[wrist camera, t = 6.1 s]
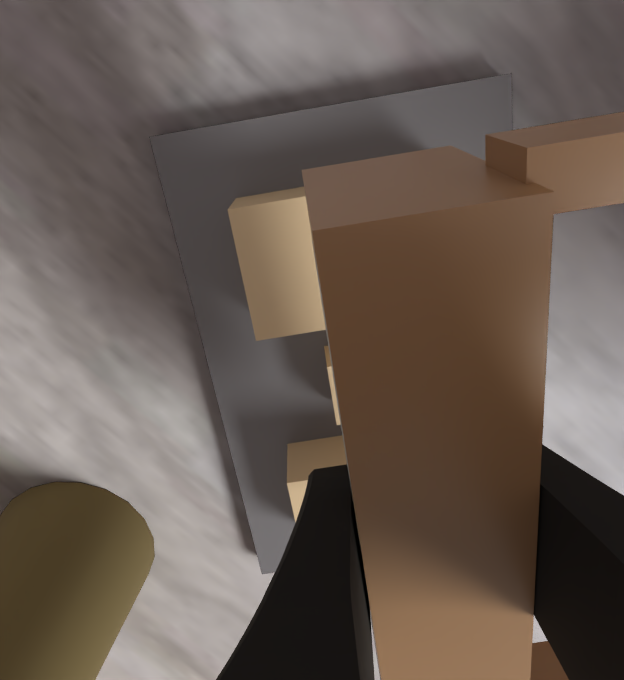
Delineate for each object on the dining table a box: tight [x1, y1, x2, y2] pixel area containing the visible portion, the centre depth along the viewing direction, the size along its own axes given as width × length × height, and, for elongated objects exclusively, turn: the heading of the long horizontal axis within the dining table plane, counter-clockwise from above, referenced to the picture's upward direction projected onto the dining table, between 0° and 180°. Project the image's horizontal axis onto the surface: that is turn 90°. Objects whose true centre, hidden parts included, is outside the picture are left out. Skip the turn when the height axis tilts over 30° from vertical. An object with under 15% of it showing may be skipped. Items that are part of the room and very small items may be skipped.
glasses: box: [302, 112, 624, 680], centre depth 10 cm, size 5×12×4 cm, turn 9°
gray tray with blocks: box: [149, 73, 513, 574], centre depth 17 cm, size 10×16×3 cm, turn 9°
